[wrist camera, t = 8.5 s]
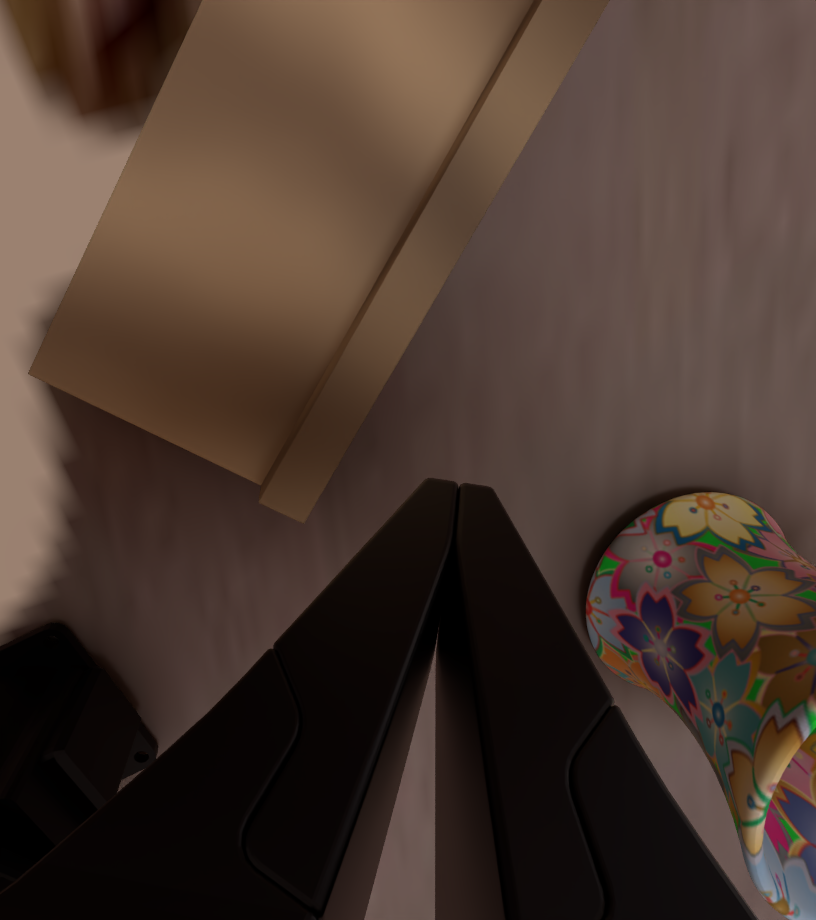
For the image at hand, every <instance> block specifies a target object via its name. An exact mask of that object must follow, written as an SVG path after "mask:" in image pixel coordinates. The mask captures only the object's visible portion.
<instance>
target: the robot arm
mask: <svg viewBox="0 0 816 920" xmlns="http://www.w3.org/2000/svg"><path fill="white" fill-rule="evenodd" d="M438 628H439V629H438ZM437 634H438V638H437ZM47 636H55V637H56V638H58V640H59V642H51V641H50V640H49V639H48V637H47ZM436 640H437V648H436V730H435V920H758V918H757V917H756V915H755V914H754V913H753V911H752V910H751V908H750V907H749V906H748V904H747V903H746V901H745V900H744V898H743V897H742V896H741V894H740V893H739V891H738V890H737V889H736V887H735V886H734V884H733V883H732V882H731V880H730V879H729V877H728V876H727V875H726V873H725V872H724V870H723V869H722V868H721V866H720V865H719V863H718V862H717V861H716V859H715V858H714V856H713V855H712V853H711V852H710V851H709V849H708V848H707V846H706V845H705V843H704V842H703V840H702V839H701V838H700V836H699V835H698V833H697V832H696V830H695V829H694V827H693V826H692V824H691V823H690V821H689V820H688V819H687V817H686V816H685V814H684V813H683V811H682V810H681V808H680V807H679V805H678V804H677V802H676V801H675V799H674V798H673V796H672V795H671V794H670V792H669V791H668V789H667V787H666V786H665V784H664V782H663V781H662V779H661V778H660V776H659V774H658V773H657V771H656V769H655V768H654V766H653V764H652V763H651V761H650V760H649V758H648V756H647V755H646V753H645V751H644V750H643V748H642V746H641V745H640V743H639V742H638V740H637V738H636V737H635V735H634V733H633V731H632V729H631V728H630V726H629V724H628V722H627V721H626V719H625V717H624V715H623V714H622V712H621V710H620V708H619V707H618V706H615V705H614V706H613V704H614V698H613V697H612V695H611V693H610V691H609V690H608V688H607V686H606V684H605V683H604V681H603V679H602V678H601V676H600V674H599V672H598V671H597V669H596V667H595V665H594V664H593V662H592V660H591V658H590V657H589V655H588V653H587V651H586V650H585V648H584V646H583V644H582V643H581V641H580V639H579V637H578V636H577V634H576V632H575V631H574V629H573V627H572V625H571V624H570V622H569V620H568V618H567V617H566V615H565V613H564V611H563V610H562V608H561V606H560V604H559V603H558V601H557V599H556V597H555V596H554V594H553V592H552V590H551V589H550V587H549V585H548V584H547V582H546V580H545V578H544V577H543V575H542V573H541V571H540V570H539V568H538V566H537V564H536V563H535V561H534V559H533V557H532V556H531V554H530V552H529V550H528V549H527V547H526V545H525V544H524V542H523V540H522V538H521V537H520V535H519V533H518V531H517V530H516V528H515V526H514V524H513V523H512V521H511V519H510V517H509V516H508V514H507V512H506V510H505V509H504V507H503V505H502V503H501V502H500V500H499V498H498V497H497V495H496V493H495V491H494V490H493V489H492V488H491V487H488V486H482V485H475V484H468V483H463V484H461V485H460V486H459V489H458V484H457V483H456V482H454V481H448V480H441V479H434V478H428V479H426V480H424V481H423V482H422V483H421V484H420V486H419V487H418V488H417V489H416V490H415V491H414V492H413V493H412V494H411V495H410V496H409V498H408V499H407V500H406V501H405V502H404V503H403V504H402V505H401V506H400V507H399V508H398V509H397V511H396V512H395V513H394V514H393V515H392V516H391V517H390V518H389V519H388V520H387V521H386V522H385V524H384V525H383V526H382V527H381V528H380V529H379V530H378V531H377V532H376V533H375V534H374V536H373V537H372V538H371V539H370V540H369V541H368V542H367V543H366V544H365V545H364V546H363V547H362V549H361V550H360V551H359V552H358V553H357V554H356V555H355V556H354V557H353V558H352V559H351V561H350V562H349V563H348V564H347V565H346V566H345V567H344V568H343V569H342V570H341V571H340V572H339V574H338V575H337V576H336V577H335V578H334V579H333V580H332V581H331V582H330V583H329V584H328V585H327V587H326V588H325V589H324V590H323V591H322V592H321V593H320V594H319V595H318V596H317V597H316V599H315V600H314V601H313V602H312V603H311V604H310V605H309V606H308V607H307V608H306V609H305V610H304V612H303V613H302V614H301V615H300V616H299V617H298V618H297V619H296V620H295V621H294V622H293V623H292V625H291V626H290V627H289V628H288V629H287V630H286V631H285V632H284V633H283V634H282V635H281V637H280V638H279V639H278V640H277V641H276V642H275V643H274V645H273V648H274V649H268V650H267V651H266V652H265V653H264V655H263V656H262V657H261V658H260V659H259V660H258V661H257V662H256V663H255V664H254V665H253V667H252V668H251V669H250V670H249V671H248V672H247V673H246V674H245V675H244V676H243V677H242V678H241V679H240V680H239V681H238V682H237V683H236V684H235V685H234V686H233V687H232V688H231V689H230V690H229V691H228V692H227V694H226V695H225V696H224V697H223V698H222V699H221V700H220V701H219V702H218V703H217V704H216V705H215V706H214V707H213V708H212V709H211V710H210V711H209V712H208V713H207V714H206V715H204V716H203V717H202V718H201V719H200V720H199V721H198V722H197V723H196V724H195V725H193V726H192V727H191V728H190V729H189V730H188V731H187V732H186V733H185V734H184V735H182V736H181V737H180V738H179V739H178V740H177V741H176V742H175V743H174V744H173V745H171V746H170V747H169V748H168V749H167V750H166V751H165V752H164V753H163V754H162V755H160V756H159V757H158V758H157V759H156V756H157V753H158V745H157V743H156V742H155V740H154V739H153V738H152V736H151V735H150V734H149V733H148V731H147V730H146V729H145V727H144V726H143V725H142V723H141V722H140V721H141V717H140V716H139V715H138V713H137V712H136V711H135V709H134V708H133V707H132V705H131V704H130V703H129V701H128V700H127V699H126V698H125V696H124V695H123V694H122V692H121V691H120V690H119V688H118V687H117V686H116V684H115V683H114V682H113V681H112V679H111V678H110V677H109V675H108V674H107V673H106V671H105V670H104V669H102V668H100V667H98V666H97V665H96V664H95V662H94V661H93V660H92V658H91V657H90V656H89V655H88V653H87V652H86V651H85V649H84V648H83V647H82V645H81V644H80V643H79V642H78V640H77V639H76V638H75V636H74V635H73V634H72V632H71V631H70V630H69V629H68V628H67V627H66V626H65V625H62V624H60V623H50V624H46V625H44V626H42V627H40V628H38V629H36V630H34V631H32V632H30V633H28V634H25V635H23V636H21V637H19V638H17V639H15V640H13V641H11V642H9V643H7V644H5V645H2V646H0V920H364V918H365V914H366V910H367V906H368V903H369V899H370V895H371V891H372V888H373V884H374V880H375V876H376V872H377V869H378V865H379V861H380V857H381V854H382V850H383V846H384V842H385V839H386V835H387V831H388V827H389V823H390V820H391V816H392V812H393V808H394V805H395V801H396V797H397V793H398V790H399V786H400V782H401V778H402V774H403V771H404V767H405V763H406V759H407V756H408V752H409V748H410V744H411V741H412V737H413V733H414V729H415V725H416V722H417V718H418V714H419V710H420V707H421V703H422V699H423V695H424V692H425V688H426V684H427V680H428V676H429V673H430V669H431V665H432V660H433V656H434V652H435V646H436ZM139 751H144V752H146V753H148V754H145V755H143V754H140V753H138V752H139ZM143 769H144V770H143ZM141 770H143V771H142V772H141V773H140V774H138V775H137V776H136V777H135V778H134V779H133V780H132V781H130V782H129V783H128V784H127V785H126V786H125V787H124V788H122V789H121V790H120V791H119V792H118V793H117V791H118V788H119V785H120V782H121V780H122V779H124V778H126V777H128V776H130V775H132V774H134V773H136V772H139V771H141Z"/></svg>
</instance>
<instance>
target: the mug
mask: <svg viewBox="0 0 816 920" xmlns="http://www.w3.org/2000/svg"><path fill="white" fill-rule="evenodd" d="M586 623H587V629H588V633H589V636H590V640H591V642H592V645H593V647H594V649H595V651H596V653H597V655H598V656H599V658H600V659H601V660H602V662H603V663H604V664H605V665H606V666H607V667H608V668H609V669H610V670H611V671H612V672H613V673H615V674H616V675H617V676H619V677H620V678H622V679H624V680H625V681H627V682H629V683H631V684H633V685H636V686H639V687H642V688H646V689H647V690H649V691H651V692H652V693H654V694H655V695H657V696H658V697H659V698H661V699H662V700H663V701H664V702H665V703H666V704H667V705H668V706H669V707H670V708H671V709H672V710H673V711H674V712H675V713H676V714H677V715H678V716H679V717H680V719H681V720H682V721H683V722H684V724H685V725H686V726H687V727H688V729H689V730H690V731H691V733H692V734H693V736H694V737H695V739H696V740H697V742H698V743H699V745H700V746H701V748H702V750H703V752H704V753H705V755H706V757H707V759H708V760H709V762H710V764H711V766H712V768H713V770H714V772H715V774H716V776H717V779H718V781H719V783H720V786H721V788H722V790H723V792H724V795H725V797H726V800H727V803H728V805H729V808H730V811H731V814H732V817H733V820H734V823H735V826H736V830H737V833H738V837H739V840H740V844H741V848H742V852H743V856H744V860H745V863H746V866H747V869H748V872H749V874H750V877H751V879H752V881H753V883H754V885H755V886H756V888H757V889H758V891H759V892H760V893H761V895H762V896H763V897H764V899H765V900H766V901H767V902H768V903H769V904H770V905H771V906H772V907H773V908H774V909H775V910H776V911H778V912H779V913H781V914H782V915H783V916H785V917H786V918H788V919H789V920H816V567H814V566H813V565H811V564H810V563H809V562H807V561H806V560H805V559H803V558H802V557H801V556H800V555H799V554H798V553H797V552H796V551H794V550H793V549H792V547H791V546H790V545H789V544H788V542H787V541H786V538H785V536H784V534H783V532H782V530H781V529H780V527H779V526H778V524H777V523H776V522H775V521H774V519H773V518H772V517H771V516H770V515H769V514H768V513H767V512H766V511H765V510H763V509H762V508H761V507H759V506H758V505H756V504H755V503H753V502H751V501H749V500H747V499H744V498H741V497H739V496H735V495H730V494H726V493H717V492H702V493H693V494H688V495H683V496H680V497H677V498H673V499H671V500H668V501H666V502H663V503H661V504H659V505H657V506H655V507H653V508H652V509H650V510H648V511H647V512H645V513H643V514H642V515H640V516H639V517H638V518H636V519H635V520H634V521H632V522H631V523H630V524H629V525H628V526H627V527H625V529H624V530H623V531H622V532H621V533H620V534H619V535H618V536H617V537H616V538H615V539H614V540H613V542H612V543H611V544H610V545H609V547H608V548H607V550H606V551H605V553H604V554H603V556H602V558H601V559H600V561H599V563H598V565H597V567H596V569H595V572H594V574H593V577H592V579H591V582H590V586H589V590H588V595H587V600H586Z"/></svg>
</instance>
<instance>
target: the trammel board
mask: <svg viewBox="0 0 816 920" xmlns="http://www.w3.org/2000/svg"><path fill="white" fill-rule="evenodd" d="M609 1H610V0H202V2H201V4H200V7H199V9H198V11H197V13H196V15H195V17H194V19H193V22H192V24H191V26H190V28H189V30H188V32H187V34H186V37H185V39H184V41H183V43H182V45H181V47H180V49H179V52H178V54H177V56H176V58H175V60H174V62H173V64H172V67H171V69H170V71H169V73H168V75H167V77H166V79H165V82H164V84H163V86H162V88H161V90H160V92H159V94H158V96H157V99H156V101H155V103H154V105H153V107H152V109H151V111H150V114H149V116H148V118H147V120H146V122H145V124H144V126H143V129H142V131H141V133H140V135H139V137H138V139H137V141H136V144H135V146H134V148H133V150H132V152H131V154H130V157H129V159H128V161H127V163H126V165H125V167H124V169H123V171H122V174H121V176H120V178H119V180H118V183H117V184H116V186H115V189H114V191H113V193H112V195H111V197H110V199H109V201H108V204H107V206H106V208H105V210H104V212H103V214H102V216H101V219H100V221H99V223H98V225H97V227H96V229H95V231H94V234H93V236H92V238H91V240H90V242H89V244H88V246H87V248H86V251H85V253H84V255H83V257H82V259H81V261H80V263H79V266H78V268H77V270H76V272H75V274H74V276H73V278H72V281H71V283H70V285H69V287H68V289H67V291H66V293H65V296H64V298H63V300H62V302H61V304H60V306H59V308H58V310H57V313H56V315H55V317H54V319H53V321H52V323H51V325H50V328H49V330H48V332H47V334H46V336H45V338H44V340H43V343H42V345H41V347H40V349H39V351H38V353H37V355H36V358H35V360H34V362H33V364H32V366H31V368H30V370H29V373H28V374H29V375H31V376H33V377H35V378H38V379H40V380H42V381H44V382H46V383H48V384H50V385H52V386H54V387H56V388H58V389H60V390H63V391H65V392H67V393H69V394H71V395H73V396H75V397H77V398H79V399H81V400H83V401H86V402H88V403H90V404H92V405H94V406H96V407H98V408H100V409H102V410H104V411H106V412H108V413H111V414H113V415H115V416H117V417H119V418H121V419H123V420H125V421H127V422H129V423H131V424H134V425H136V426H138V427H140V428H142V429H144V430H146V431H148V432H150V433H152V434H154V435H156V436H159V437H161V438H163V439H165V440H167V441H169V442H171V443H173V444H175V445H177V446H179V447H182V448H184V449H186V450H188V451H190V452H192V453H194V454H196V455H198V456H200V457H202V458H204V459H207V460H209V461H211V462H213V463H215V464H217V465H219V466H221V467H223V468H225V469H227V470H230V471H232V472H234V473H236V474H238V475H240V476H242V477H244V478H246V479H248V480H250V481H252V482H255V483H257V484H259V485H261V488H260V495H259V502H258V503H260V504H262V505H265V506H267V507H269V508H271V509H273V510H275V511H277V512H279V513H282V514H284V515H286V516H288V517H290V518H292V519H294V520H296V521H299V522H301V523H303V524H304V523H305V521H306V519H307V517H308V516H309V514H310V512H311V511H312V509H313V507H314V505H315V504H316V502H317V500H318V499H319V497H320V495H321V493H322V492H323V490H324V488H325V487H326V485H327V483H328V481H329V480H330V478H331V476H332V475H333V473H334V471H335V469H336V468H337V466H338V464H339V463H340V461H341V459H342V458H343V456H344V454H345V452H346V451H347V449H348V447H349V446H350V444H351V442H352V440H353V439H354V437H355V435H356V434H357V432H358V430H359V428H360V427H361V425H362V423H363V422H364V420H365V418H366V416H367V415H368V413H369V411H370V410H371V408H372V406H373V404H374V403H375V401H376V399H377V398H378V396H379V394H380V392H381V391H382V389H383V387H384V386H385V384H386V382H387V380H388V379H389V377H390V375H391V374H392V372H393V370H394V369H395V367H396V365H397V363H398V362H399V360H400V358H401V357H402V355H403V353H404V351H405V350H406V348H407V346H408V345H409V343H410V341H411V339H412V338H413V336H414V334H415V333H416V331H417V329H418V327H419V326H420V324H421V322H422V321H423V319H424V317H425V315H426V314H427V312H428V310H429V309H430V307H431V305H432V303H433V302H434V300H435V298H436V297H437V295H438V293H439V291H440V290H441V288H442V286H443V285H444V283H445V281H446V280H447V278H448V276H449V274H450V273H451V271H452V269H453V268H454V266H455V264H456V262H457V261H458V259H459V257H460V256H461V254H462V252H463V250H464V249H465V247H466V245H467V244H468V242H469V240H470V238H471V237H472V235H473V233H474V232H475V230H476V228H477V226H478V225H479V223H480V221H481V220H482V218H483V216H484V214H485V213H486V211H487V209H488V208H489V206H490V204H491V202H492V201H493V199H494V197H495V196H496V194H497V192H498V191H499V189H500V187H501V185H502V184H503V182H504V180H505V179H506V177H507V175H508V173H509V172H510V170H511V168H512V167H513V165H514V163H515V161H516V160H517V158H518V156H519V155H520V153H521V151H522V149H523V148H524V146H525V144H526V143H527V141H528V139H529V137H530V136H531V134H532V132H533V131H534V129H535V127H536V125H537V124H538V122H539V120H540V119H541V117H542V115H543V113H544V112H545V110H546V108H547V107H548V105H549V103H550V102H551V100H552V98H553V96H554V95H555V93H556V91H557V90H558V88H559V86H560V84H561V83H562V81H563V79H564V78H565V76H566V74H567V72H568V71H569V69H570V67H571V66H572V64H573V62H574V60H575V59H576V57H577V55H578V54H579V52H580V50H581V48H582V47H583V45H584V43H585V42H586V40H587V38H588V36H589V35H590V33H591V31H592V30H593V28H594V26H595V24H596V23H597V21H598V19H599V18H600V16H601V14H602V13H603V11H604V9H605V7H606V6H607V4H608V2H609Z"/></svg>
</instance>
